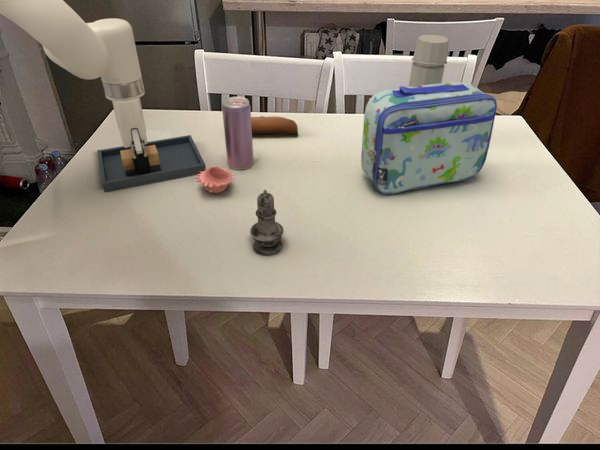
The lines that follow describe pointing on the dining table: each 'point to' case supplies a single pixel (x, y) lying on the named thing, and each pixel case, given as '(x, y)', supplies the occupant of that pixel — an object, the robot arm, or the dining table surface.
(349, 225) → the dining table surface
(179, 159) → the tray
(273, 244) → the chess bishop
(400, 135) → the lunch box
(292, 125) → the sunglasses case
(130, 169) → the eraser
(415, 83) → the water bottle
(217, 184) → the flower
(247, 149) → the beverage can
